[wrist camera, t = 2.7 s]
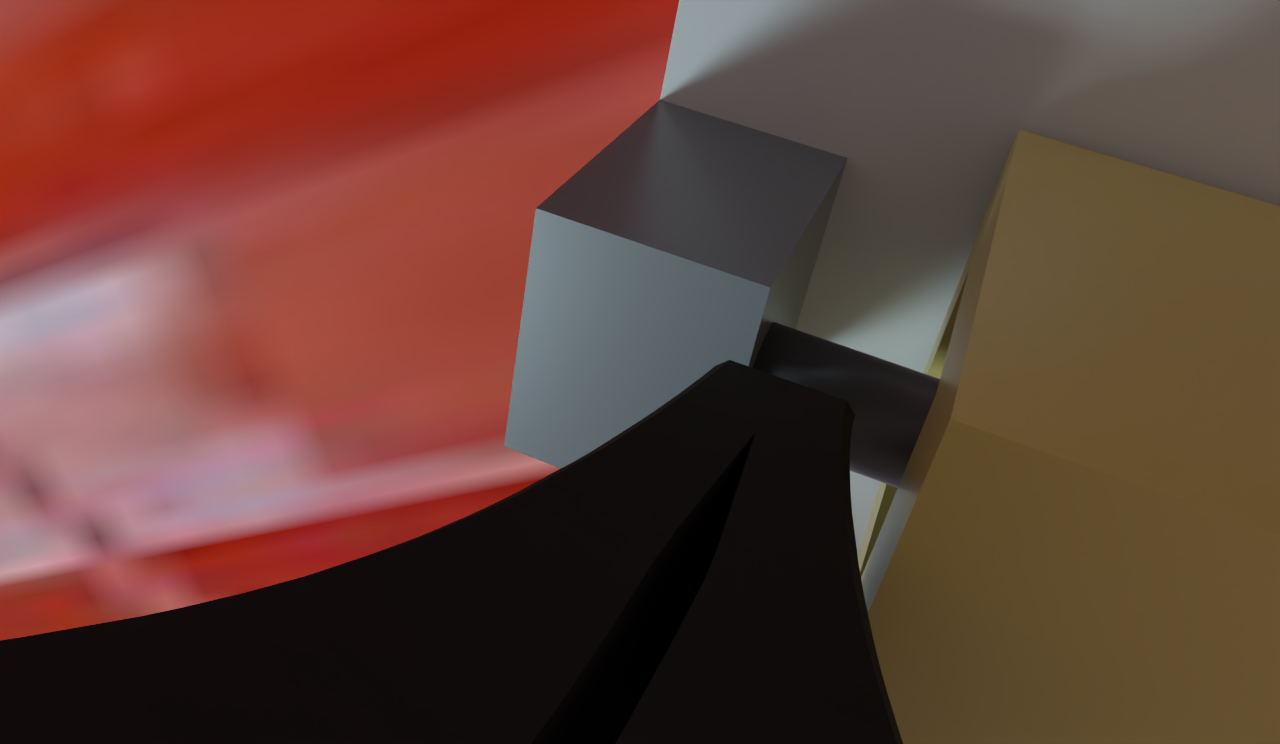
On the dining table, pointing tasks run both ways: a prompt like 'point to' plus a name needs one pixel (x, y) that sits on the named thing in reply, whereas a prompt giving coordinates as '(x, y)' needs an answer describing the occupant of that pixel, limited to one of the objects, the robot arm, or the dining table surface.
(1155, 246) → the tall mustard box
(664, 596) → the robot arm
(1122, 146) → the grey board with rod
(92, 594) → the dining table surface
